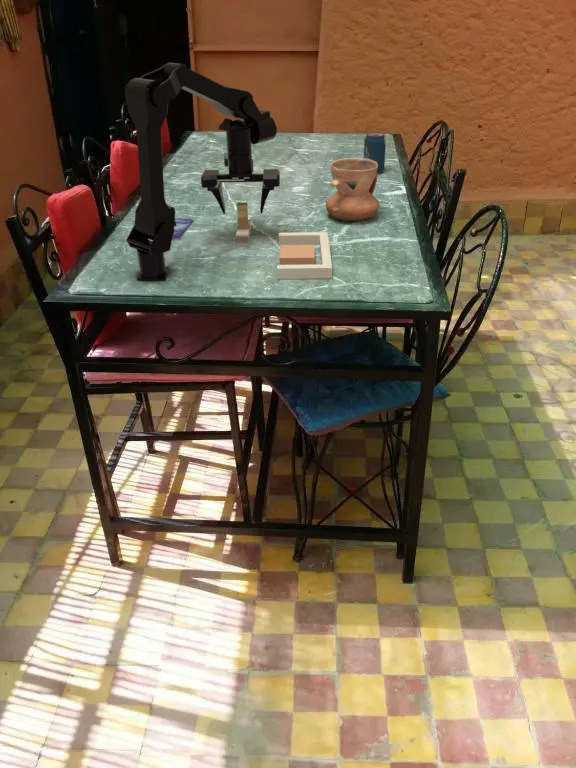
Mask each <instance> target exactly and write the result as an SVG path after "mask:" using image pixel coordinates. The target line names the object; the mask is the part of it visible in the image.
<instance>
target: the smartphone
mask: <svg viewBox="0 0 576 768" xmlns="http://www.w3.org/2000/svg"><path fill="white" fill-rule="evenodd" d="M194 222H195V221H194V219H192V218H182V217H181V218H180V217H175V223H176V225H177V226H176V227H175V226H174V234H173V236H172V241H173V240H177V241H180V240H181V239H182V238H183V236H184V235H185V234H186V233H187V231H188V230H189V229H190V227H191V226H192V225H193V224H194ZM191 224H192V225H191ZM188 228H189V229H188ZM187 229H188V230H187ZM185 232H186V233H185ZM184 233H185V234H184ZM181 237H182V238H181Z"/></svg>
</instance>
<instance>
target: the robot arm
mask: <svg viewBox="0 0 576 768" xmlns="http://www.w3.org/2000/svg"><path fill="white" fill-rule="evenodd" d="M181 90H184V91H185V92H188V93H190V94H192V95H195V96H197V97H199V98H200V99H201V98H202V99H203V100H205V101H207V102H210V103H211V104H212V105H213V106H214V108H215V109H216V110H217V111H218V112H220V113H221V114H222V115H223V116H225V118H224V119H223V121H221V123H220V124H219V126H218V130H220V131H223V132H225V135H226V151H227V152H224V153H223V154H224V155H223V161H224V163H223V164H224V167H226V168H227V169H228V173H220V170H219V169H205V170H203V172H202V174H201V175H200V176H201V177H200V186H201V188H204V189H207V192H211V193H212V194H213V196H214V198H215V200H216V201H217V203H218V205H219V208H220V210H221V211H222V212H221V213H222V214H223V215H225V214H226V204H225V199H224V193H223V187H222V183H262V186H261V187H262V188H261V195H260V206H259V207H260V209H259V211H260V214H263V211H264V210H265V209H264V208H265V204H266V201H267V199H268V196H269V194H270V192H271V191H274V190H275V188H278V187H280V185H281V172H280V170H279V169H278V168H263V173H254V160H253V157H252V155H253V154H252V145H257V144H261V143H264V142H268V141H271V140H273V139H275V138H276V136H277V132H278V127H277V123H276V121H275V120H274V118H273V117H272V116H271V111H270V110H265V109H263V110H260V109H259V108H258V106H257V104H256V103H255V101H254V96H253V94H252V93H251V92H250V91H247V90H244V89H240V88H239V89H238V88H233V87H228V86H225V85H222V84H220V83H219V82H216V81H214V80H212V79H211V78H209V77H207V76H204V74H201V73H198V72H197V71H195V70H193V69H191V68H189V67H188V66H187V65H186V64H183V63H177V62H167V63H166V64H163V65H162V66H161V67H159V68H158V69H154V70H153V71H149V72H147V73H145V74H143V75H142V76H140V77H135V78H132V79H131V80H129V81H128V83H127V84H126V85H125V87H124V97H125V104H126V106H127V107H126V108H127V111H128V114H129V116H130V118H131V120H132V122H133V123H134V126H135V130H136V142H137V143H136V144H137V158H138V171H139V173H138V174H139V186H140V188H139V189H140V200H139V202H138V204H137V207H136V209H135V213H134V214H135V216H134V217H135V218H134V224H133V226H132V229H131V230H130V232H129V234H128V236H127V238H126V239H125V241H126V242H127V244H128V246H129V248H131V249H132V248H133V249H135V250H136V254H137V261H138V268H139V272H138V274H137V276H136V281H165V280H167V277H168V275H169V272H170V270H171V267H170V266H166V261H165V260H166V259H165V253H167V252H169V251H171V246H172V241H173V240H172V236H173V234H174V226H175V227H176V226H177V225H176V223H175V218H176V209H175V207H174V206H171V205H168V204H167V201H166V199H165V185H164V184H165V183H164V181H165V180H164V165H163V164H164V162H163V143H162V126H163V124H164V122H165V121H166V118H167V115H168V107H169V103H170V102H171V101H172V100H174V99H175V98H176V97H177V96H178V94H180V91H181ZM226 116H227V117H232V118H234V119H235V120H232V119H230V118H226Z"/></svg>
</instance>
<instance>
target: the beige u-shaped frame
mask: <svg viewBox="0 0 576 768" xmlns="http://www.w3.org/2000/svg"><path fill="white" fill-rule="evenodd" d="M328 234H329V233H328V231H320V232H319V231H315V232H312V231H311V232H308V231H307V232H306V231H305V232H302V231H301V232H299V231H297V232H279V233H278V246H280V245H314V246H319V252H320V254H319V256H320V263H319V264H315V263H314V265H280V264H277V266H276V269H277V270H276V272H277V273H276V274H277V280H309V279H310V280H312V279H313V280H314V279H321V280H322V279H326V280H327V279H329V280H330V279H332V278H333V266H332V265H333V264H332V257H331V249H330V241H329V235H328Z"/></svg>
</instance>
